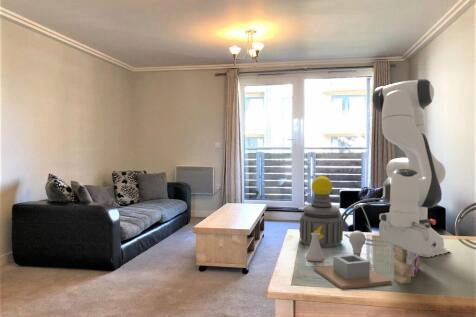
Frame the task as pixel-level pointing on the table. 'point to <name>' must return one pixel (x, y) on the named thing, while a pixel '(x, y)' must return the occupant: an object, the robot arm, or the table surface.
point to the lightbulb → (357, 242)
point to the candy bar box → (415, 265)
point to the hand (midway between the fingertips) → (402, 261)
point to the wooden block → (401, 266)
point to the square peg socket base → (351, 272)
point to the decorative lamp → (321, 217)
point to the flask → (315, 249)
